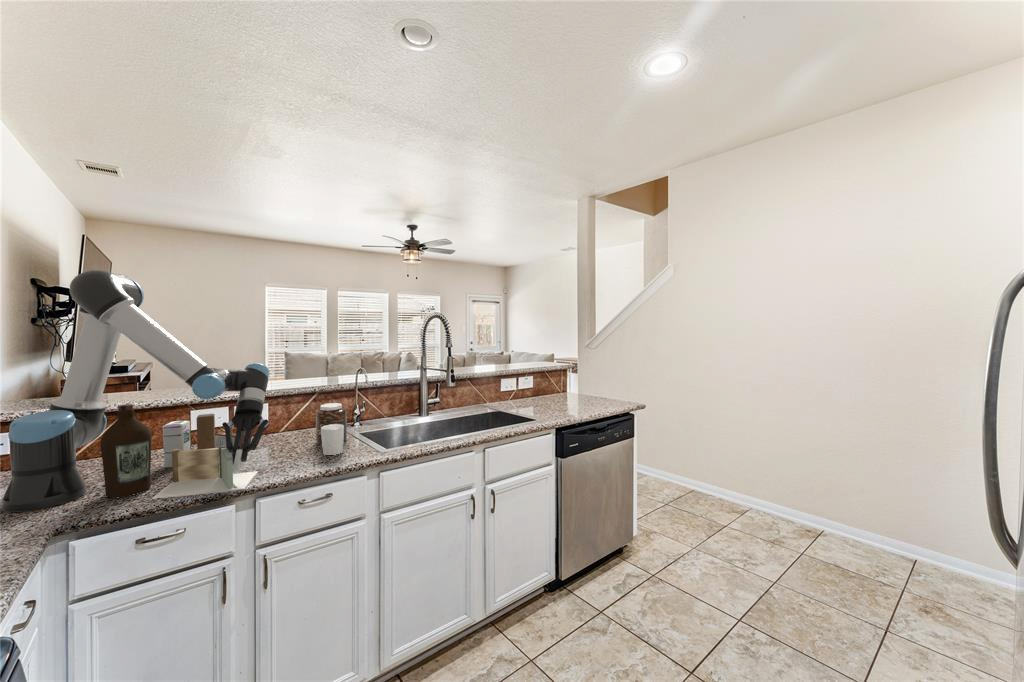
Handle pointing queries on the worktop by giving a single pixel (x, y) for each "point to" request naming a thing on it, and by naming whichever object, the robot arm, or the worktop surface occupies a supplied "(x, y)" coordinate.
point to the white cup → (332, 439)
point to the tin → (221, 440)
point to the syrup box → (175, 439)
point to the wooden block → (206, 431)
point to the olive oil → (126, 455)
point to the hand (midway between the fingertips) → (236, 471)
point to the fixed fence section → (196, 464)
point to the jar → (330, 418)
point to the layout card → (205, 486)
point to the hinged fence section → (227, 467)
